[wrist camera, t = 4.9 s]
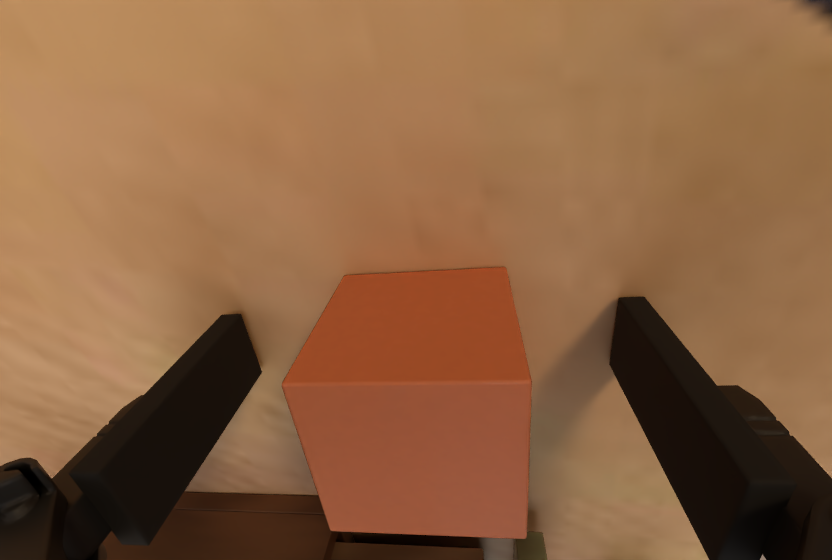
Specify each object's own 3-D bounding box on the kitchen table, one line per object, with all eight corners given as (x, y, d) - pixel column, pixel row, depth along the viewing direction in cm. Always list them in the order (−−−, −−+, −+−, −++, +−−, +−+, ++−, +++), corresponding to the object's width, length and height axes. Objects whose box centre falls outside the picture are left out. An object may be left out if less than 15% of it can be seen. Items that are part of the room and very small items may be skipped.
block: (506, 265, 13) (532, 381, 8) (507, 393, 15) (527, 540, 10) (343, 274, 14) (279, 384, 9) (368, 395, 16) (329, 532, 11)
